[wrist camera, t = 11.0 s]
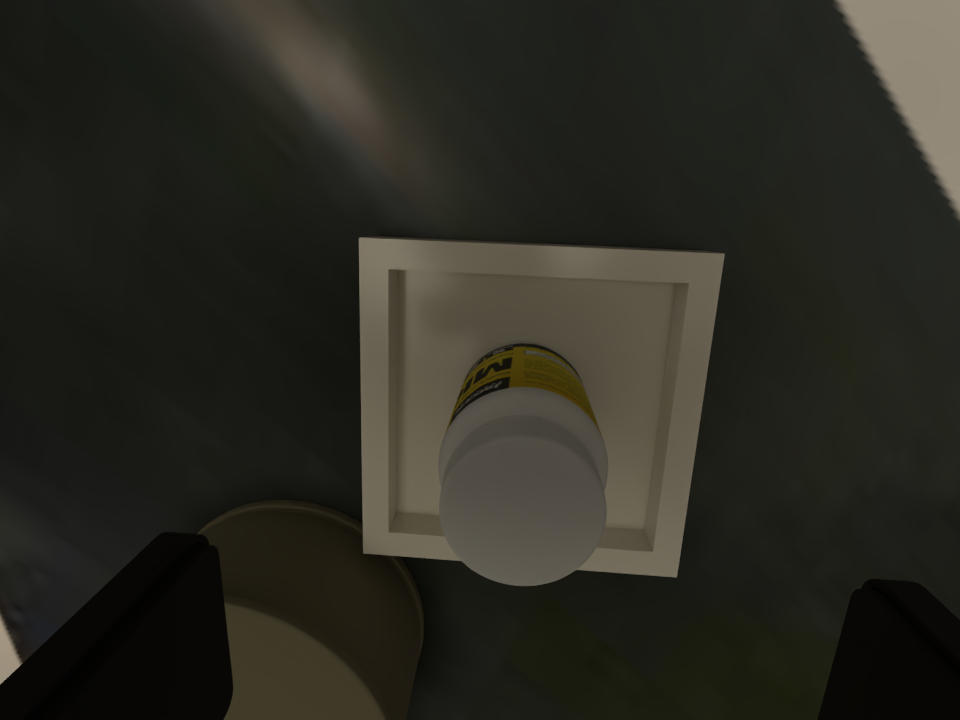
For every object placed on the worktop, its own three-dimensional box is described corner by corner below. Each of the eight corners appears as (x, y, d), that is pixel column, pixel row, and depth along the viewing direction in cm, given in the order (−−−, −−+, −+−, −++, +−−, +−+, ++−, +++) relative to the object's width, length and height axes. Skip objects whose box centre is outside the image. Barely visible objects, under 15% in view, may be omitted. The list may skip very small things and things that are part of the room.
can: (420, 493, 23) (381, 603, 16) (437, 724, 26) (409, 898, 19) (148, 494, 24) (5, 599, 17) (193, 718, 27) (86, 881, 20)
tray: (374, 236, 20) (359, 237, 18) (703, 250, 20) (724, 253, 18) (376, 524, 23) (363, 553, 21) (662, 545, 23) (676, 577, 21)
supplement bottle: (502, 315, 20) (492, 378, 12) (609, 382, 21) (669, 488, 12) (437, 418, 21) (387, 539, 13) (538, 480, 22) (551, 634, 14)
